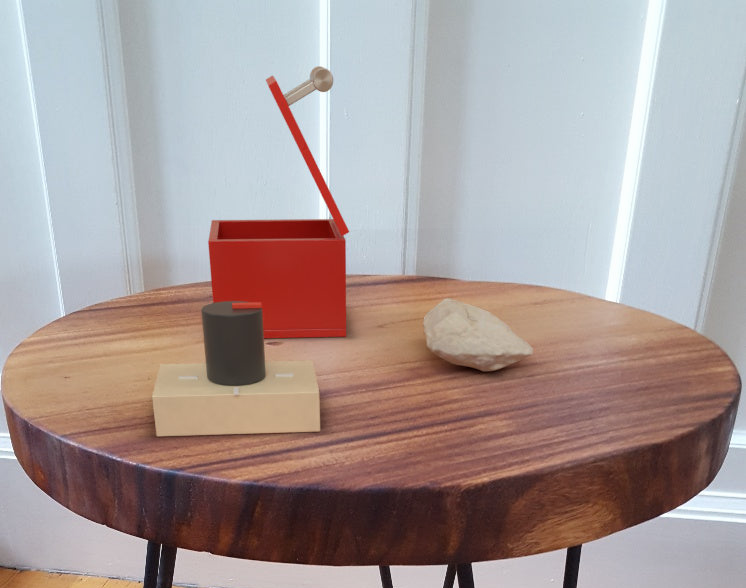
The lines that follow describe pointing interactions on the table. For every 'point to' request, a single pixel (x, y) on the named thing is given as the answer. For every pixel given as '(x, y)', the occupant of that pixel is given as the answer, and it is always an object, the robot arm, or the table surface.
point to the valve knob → (234, 342)
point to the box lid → (322, 83)
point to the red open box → (283, 273)
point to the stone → (472, 337)
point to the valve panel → (236, 401)
